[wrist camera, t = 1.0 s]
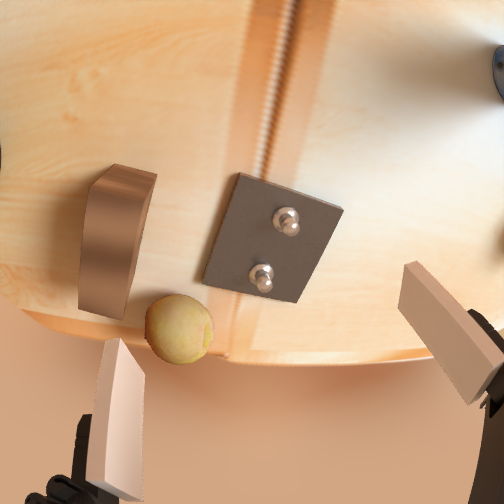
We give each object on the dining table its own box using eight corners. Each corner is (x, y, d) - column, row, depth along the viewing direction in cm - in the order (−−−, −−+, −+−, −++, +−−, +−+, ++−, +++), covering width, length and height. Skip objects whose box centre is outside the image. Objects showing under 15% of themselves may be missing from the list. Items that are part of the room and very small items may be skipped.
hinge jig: (202, 278, 35) (202, 297, 32) (239, 172, 30) (244, 182, 27) (294, 298, 39) (301, 316, 36) (340, 207, 34) (353, 219, 31)
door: (134, 274, 34) (122, 320, 27) (98, 264, 32) (78, 309, 25) (157, 174, 29) (144, 202, 22) (115, 163, 27) (89, 188, 20)
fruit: (199, 335, 40) (201, 383, 33) (140, 316, 37) (132, 363, 30) (224, 294, 37) (232, 341, 30) (160, 269, 34) (152, 316, 27)
